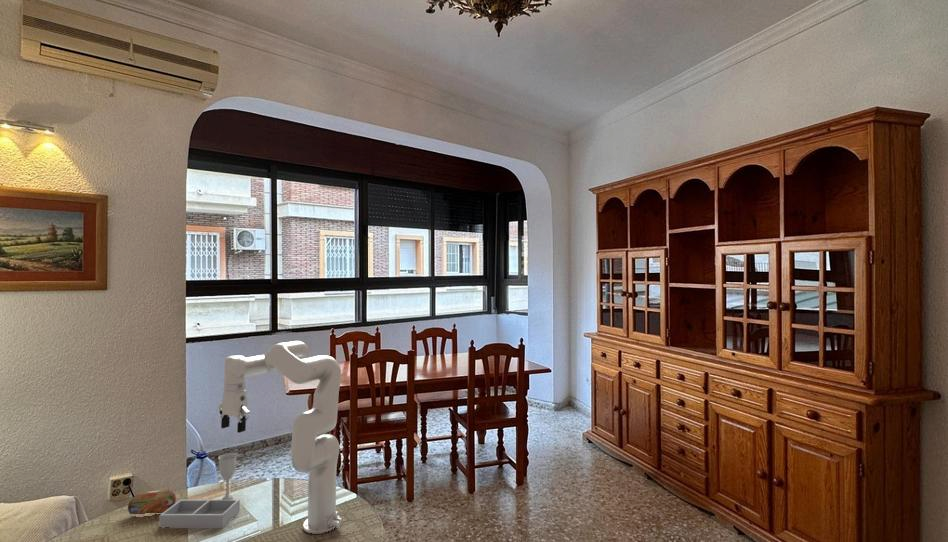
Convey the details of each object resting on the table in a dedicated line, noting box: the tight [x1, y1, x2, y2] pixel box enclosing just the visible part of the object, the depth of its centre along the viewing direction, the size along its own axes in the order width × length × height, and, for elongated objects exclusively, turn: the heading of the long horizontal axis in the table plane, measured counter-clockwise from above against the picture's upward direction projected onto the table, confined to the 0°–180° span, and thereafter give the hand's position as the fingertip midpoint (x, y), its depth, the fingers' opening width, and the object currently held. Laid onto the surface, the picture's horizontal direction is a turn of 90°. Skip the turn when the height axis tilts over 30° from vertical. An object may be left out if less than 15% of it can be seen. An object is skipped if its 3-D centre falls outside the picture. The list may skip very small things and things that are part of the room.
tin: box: [127, 489, 177, 515], centre depth 172 cm, size 15×3×8 cm, turn 105°
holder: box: [158, 499, 241, 529], centre depth 167 cm, size 22×12×4 cm, turn 90°
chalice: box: [217, 452, 238, 500], centre depth 181 cm, size 7×7×18 cm
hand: (233, 429), depth 184 cm, fingers open, 9 cm apart
